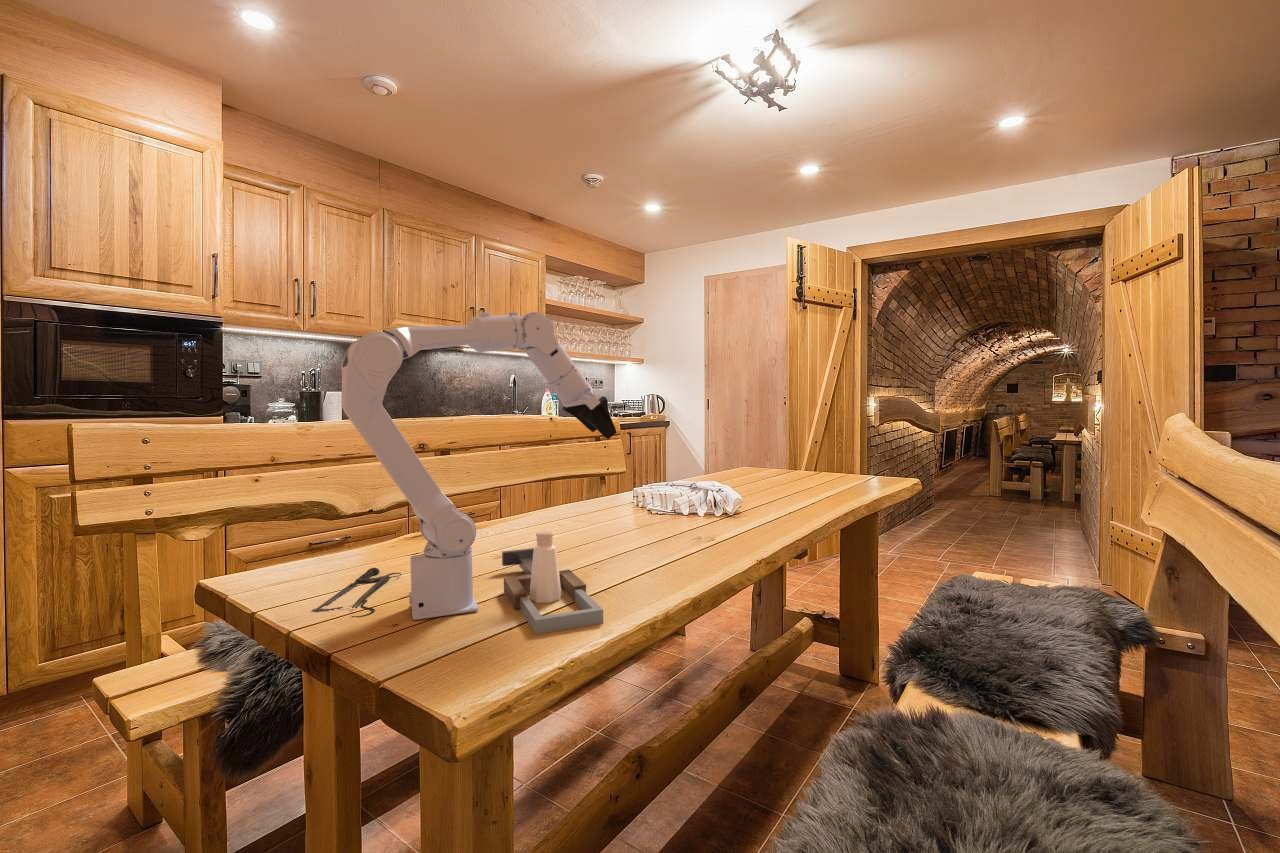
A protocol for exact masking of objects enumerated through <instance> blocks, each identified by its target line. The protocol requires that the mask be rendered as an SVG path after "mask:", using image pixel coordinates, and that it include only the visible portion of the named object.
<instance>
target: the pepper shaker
mask: <svg viewBox="0 0 1280 853" xmlns="http://www.w3.org/2000/svg"><path fill="white" fill-rule="evenodd" d="M535 536H536V546H535V547H533V548H534V550H533V560H532V572H531V584H530V593H529V596H528V598H529V599H530V600H531V602H533V601H534V603H535V602H536V604H551V603H554V602H557V600H558V601H560V599H561V597H562V596H563V595H562V593H563V592H562V588H561V584H560V576H559V571H560V569H559V568H560V567H559V560H558V553H557V547H556V546H557V545H556V546H555V545H554V543H553V541H554V540H553V536H554V532H553V531H551V530H541V531H540V530H539V531H538V532H536V533H535ZM550 602H551V603H550Z"/></svg>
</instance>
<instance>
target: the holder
mask: <svg viewBox="0 0 1280 853" xmlns="http://www.w3.org/2000/svg"><path fill="white" fill-rule="evenodd" d="M559 576H560V584H561V590H563V591H564V592H565V594H566V595H567V596H568V597H569V598H571V600H572V601H574V602H573V603H575V590H577V589H582V590H583V591H584V592H586V593H587V584H586V583H585V582H583V581H582V580H581V578H579V577H578V576H577V575H576V574H575V573H574V572H573V571H572V570H570V569H564V570H563V569H562V570H559ZM530 584H531V575H526V574H523V575H516V576H508V577H507V576H506V577H503V593H504V595H505V597H506V599H507V600H508V601H509V603H510V605H511V607H512V608H513V610H514V611H520V598H521V597H528V594H530Z"/></svg>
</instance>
